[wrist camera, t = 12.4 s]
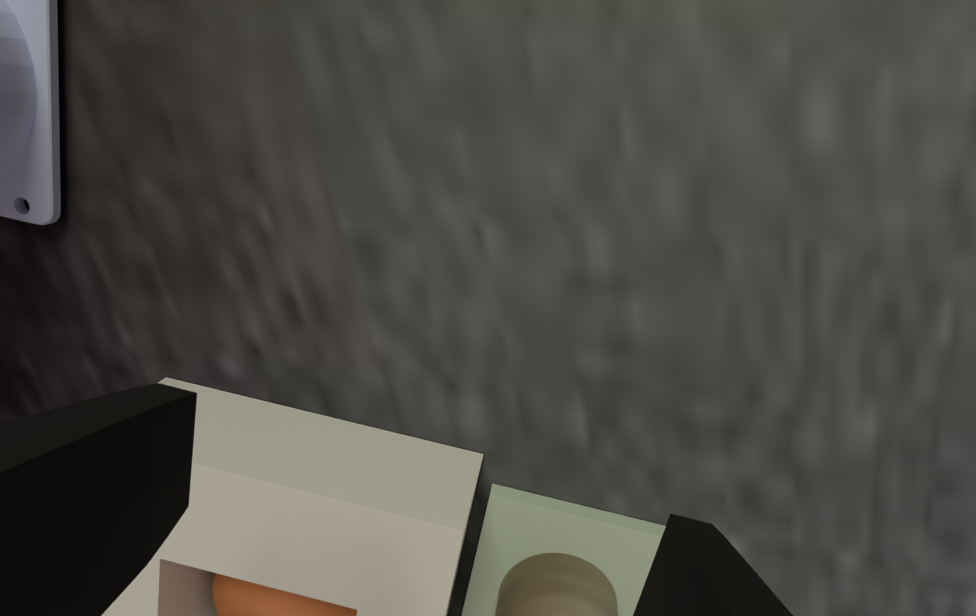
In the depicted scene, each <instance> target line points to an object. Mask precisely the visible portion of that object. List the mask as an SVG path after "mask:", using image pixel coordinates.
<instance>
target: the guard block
mask: <svg viewBox="0 0 976 616" xmlns="http://www.w3.org/2000/svg"><path fill="white" fill-rule="evenodd" d="M158 383H160V384H164V385H168V386H172V387H176V388H180V389H184V390H188V391H192V392H196V393H197V402H196V416H195V429H194V442H193V455H192V469H191V482H190V495H189V507H188V508H187V510H186V511H185V513H184V514H183V515H182V517H181V518H180V520H179V521H178V523H177V524H176V526H175V527H174V529H173V530H172V531H171V533H170V534H169V536H168V537H167V539H166V540H165V541H164V543H163V544H162V545H161V547H160V548H159V550H158V551H157V552H156V554H155V555H154V556H153V558H152V559H151V560H150V562H149V563H148V564H147V566H146V567H145V568H144V569H143V570H142V571H141V572H140V573H139V575H138V576H137V577H136V578H135V579H134V580H133V581H132V582H131V584H130V585H129V586H128V587H127V588H126V589H125V590H124V591H123V592H122V593H121V595H120V596H119V597H118V598H117V599H116V600H115V601H114V602H113V603H112V604H111V606H110V607H109V608H108V609H107V610H106V611H105V612H104V613H103V614H102V615H101V616H218V613H217V611H216V608H215V605H214V600H213V582H214V578H215V575H216V573H217V574H221V575H225V576H229V577H233V578H237V579H241V580H244V581H248V582H252V583H256V584H260V585H264V586H268V587H271V588H275V589H279V590H283V591H287V592H291V593H295V594H298V595H302V596H306V597H310V598H314V599H318V600H322V601H325V602H329V603H333V604H337V605H341V606H345V607H349V608H352V609H356V610H357V615H356V616H447V614H448V609H449V605H450V600H451V596H452V591H453V587H454V583H455V578H456V574H457V569H458V565H459V560H460V556H461V552H462V547H463V543H464V538H465V534H466V529H467V525H468V521H469V516H470V512H471V507H472V503H473V498H474V494H475V490H476V485H477V481H478V476H479V472H480V467H481V463H482V459H483V454H481V453H476V452H472V451H468V450H464V449H460V448H456V447H452V446H448V445H443V444H439V443H435V442H431V441H427V440H423V439H419V438H415V437H410V436H406V435H402V434H398V433H394V432H390V431H386V430H381V429H377V428H373V427H369V426H365V425H361V424H357V423H353V422H348V421H344V420H340V419H336V418H332V417H328V416H324V415H320V414H315V413H311V412H307V411H303V410H299V409H295V408H291V407H287V406H282V405H278V404H274V403H270V402H266V401H262V400H258V399H254V398H249V397H245V396H241V395H237V394H233V393H229V392H225V391H221V390H216V389H212V388H208V387H204V386H200V385H196V384H192V383H188V382H183V381H179V380H175V379H171V378H167V377H166V378H164V379H163V380H161V381H160V382H158Z"/></svg>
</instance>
